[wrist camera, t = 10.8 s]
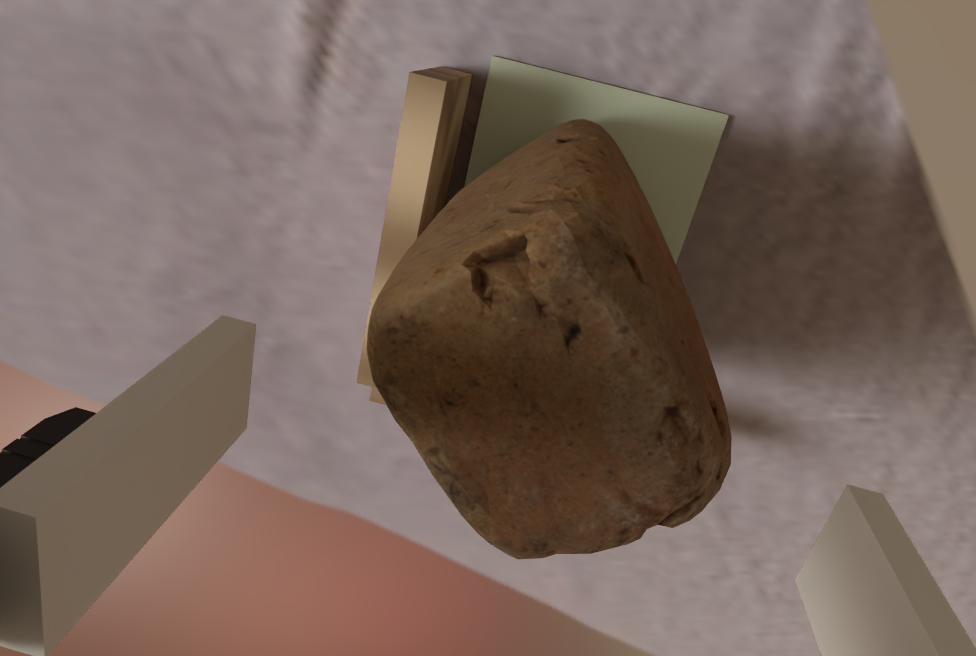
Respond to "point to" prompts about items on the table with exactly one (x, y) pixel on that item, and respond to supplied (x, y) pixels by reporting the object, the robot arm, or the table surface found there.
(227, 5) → the table surface
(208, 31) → the table surface
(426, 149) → the wooden l-shaped piece
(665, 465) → the brown sandstone rock
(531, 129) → the pad
